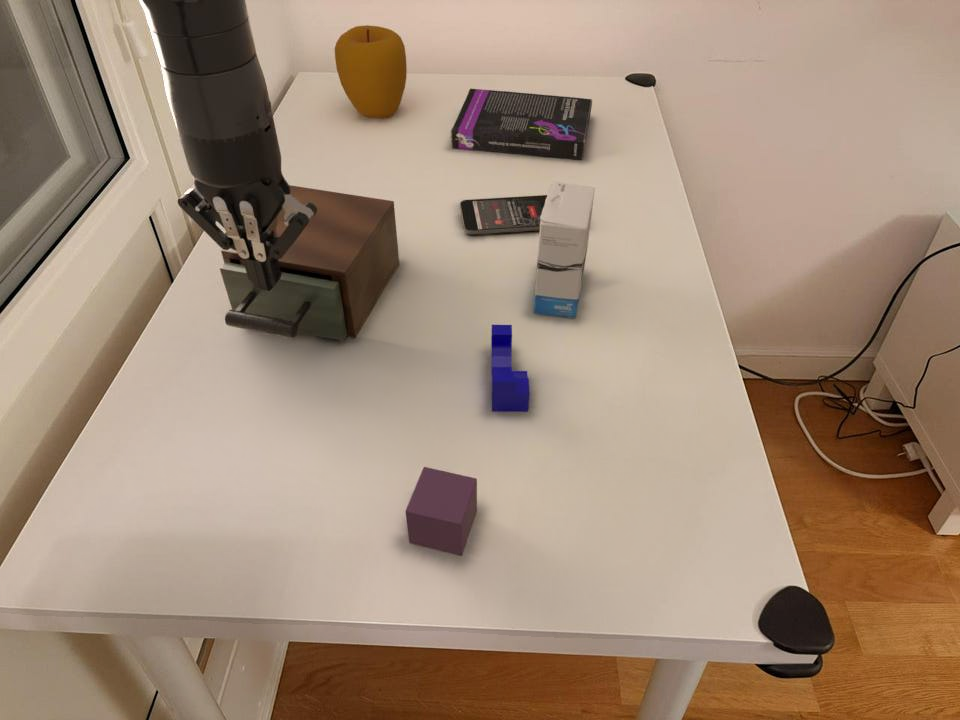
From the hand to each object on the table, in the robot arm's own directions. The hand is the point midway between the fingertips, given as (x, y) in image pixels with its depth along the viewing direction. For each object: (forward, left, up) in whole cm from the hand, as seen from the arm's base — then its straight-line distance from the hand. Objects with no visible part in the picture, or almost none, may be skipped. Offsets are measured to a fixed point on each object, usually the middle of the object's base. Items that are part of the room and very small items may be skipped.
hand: (267, 284), depth 70 cm
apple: (+41, +37, -8) cm, 56 cm away
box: (+53, +16, -8) cm, 56 cm away
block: (-2, -28, -8) cm, 29 cm away
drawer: (+5, +3, -7) cm, 9 cm away
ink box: (+28, -14, -8) cm, 32 cm away
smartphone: (+36, 0, -8) cm, 36 cm away
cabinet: (+9, +5, -8) cm, 13 cm away
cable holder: (+14, -20, -8) cm, 25 cm away
